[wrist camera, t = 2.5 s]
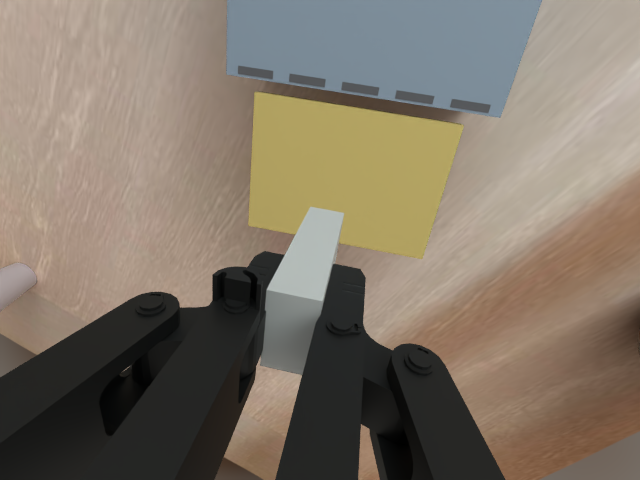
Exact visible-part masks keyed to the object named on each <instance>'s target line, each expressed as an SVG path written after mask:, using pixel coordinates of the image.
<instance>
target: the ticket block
mask: <svg viewBox="0 0 640 480" xmlns="http://www.w3.org/2000/svg"><path fill="white" fill-rule="evenodd" d="M541 2H542V0H227V66H226V74H227V75H233V76H239V77H246V78H252V79H258V80H265V81H271V82H277V83H284V84H290V85H296V86H303V87H309V88H315V89H321V90H328V91H334V92H340V93H347V94H353V95H359V96H366V97H372V98H378V99H385V100H391V101H397V102H404V103H410V104H416V105H423V106H429V107H435V108H442V109H448V110H454V111H461V112H467V113H473V114H480V115H486V116H492V117H499V118H500V117H501V114H502V111H503V109H504V106H505V103H506V100H507V97H508V95H509V92H510V89H511V86H512V83H513V81H514V78H515V75H516V72H517V69H518V66H519V64H520V61H521V58H522V55H523V52H524V50H525V47H526V44H527V41H528V38H529V35H530V33H531V30H532V27H533V24H534V21H535V19H536V16H537V13H538V10H539V7H540V5H541Z"/></svg>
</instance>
